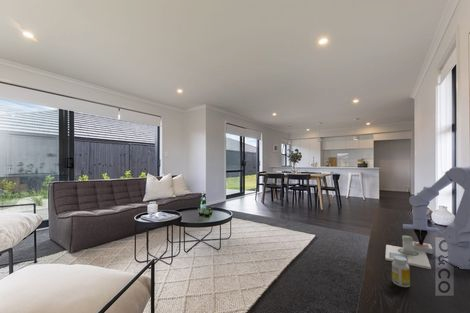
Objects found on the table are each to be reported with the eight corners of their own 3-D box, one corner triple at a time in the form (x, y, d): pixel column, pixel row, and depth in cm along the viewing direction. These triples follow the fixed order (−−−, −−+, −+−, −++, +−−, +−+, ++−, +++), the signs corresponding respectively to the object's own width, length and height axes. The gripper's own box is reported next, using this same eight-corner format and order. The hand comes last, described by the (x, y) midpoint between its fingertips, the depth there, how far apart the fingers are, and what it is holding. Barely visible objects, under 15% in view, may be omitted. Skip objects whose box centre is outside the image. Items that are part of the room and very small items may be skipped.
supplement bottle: (391, 283, 80) (390, 258, 81) (393, 278, 84) (392, 253, 85) (409, 289, 77) (408, 262, 77) (410, 283, 81) (409, 257, 81)
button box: (432, 254, 106) (432, 249, 106) (412, 250, 111) (411, 245, 111) (430, 248, 112) (430, 244, 112) (411, 245, 117) (410, 241, 117)
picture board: (431, 269, 91) (430, 266, 91) (385, 259, 100) (385, 257, 100) (425, 253, 107) (425, 251, 107) (386, 246, 116) (386, 244, 116)
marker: (415, 253, 104) (415, 238, 104) (406, 253, 104) (405, 238, 105) (409, 250, 108) (409, 235, 108) (400, 250, 108) (400, 235, 109)
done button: (427, 248, 108) (427, 246, 108) (416, 246, 111) (415, 244, 111) (426, 245, 112) (426, 243, 112) (415, 244, 115) (415, 241, 115)
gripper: (437, 218, 111) (438, 244, 110) (402, 214, 120) (403, 239, 119) (439, 221, 105) (441, 249, 105) (402, 217, 114) (403, 243, 113)
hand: (421, 244), depth 112 cm, fingers closed, pressing on done button
